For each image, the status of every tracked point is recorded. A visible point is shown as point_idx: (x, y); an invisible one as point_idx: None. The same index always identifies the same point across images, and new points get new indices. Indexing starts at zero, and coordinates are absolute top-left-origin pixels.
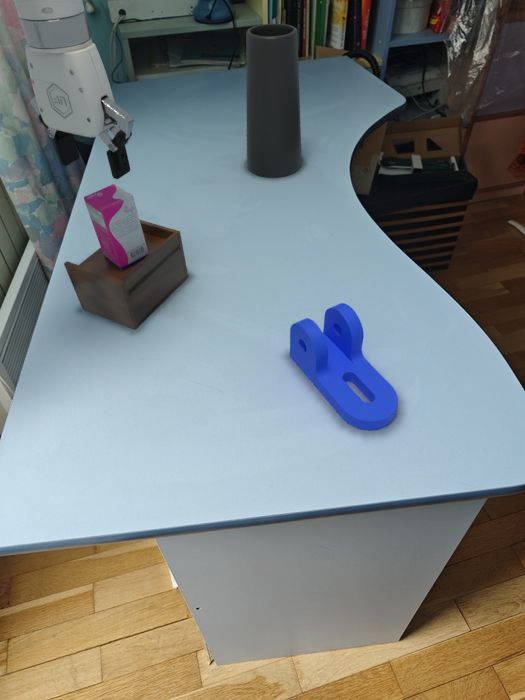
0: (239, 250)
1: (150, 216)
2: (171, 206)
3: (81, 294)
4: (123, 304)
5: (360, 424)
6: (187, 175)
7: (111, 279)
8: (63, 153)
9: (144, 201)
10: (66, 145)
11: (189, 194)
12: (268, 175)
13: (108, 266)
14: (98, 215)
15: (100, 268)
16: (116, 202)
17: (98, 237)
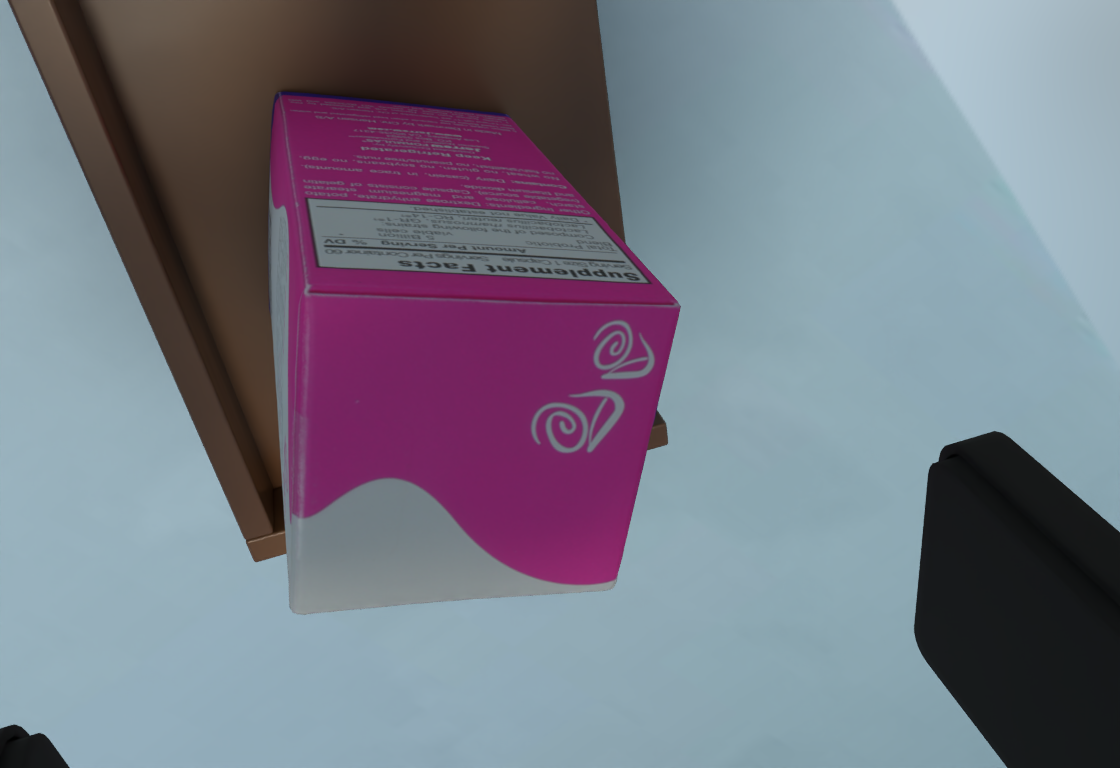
0: (238, 637)
1: (775, 522)
2: (744, 614)
3: None
4: None
5: None
6: (833, 753)
7: None
8: (1043, 585)
9: (873, 562)
10: (1088, 723)
11: (736, 699)
12: None
13: (395, 64)
14: (411, 245)
15: (422, 11)
16: (299, 459)
17: (525, 159)
